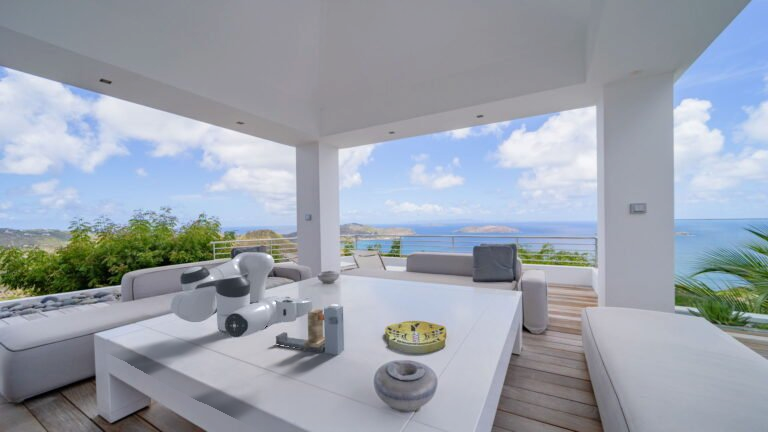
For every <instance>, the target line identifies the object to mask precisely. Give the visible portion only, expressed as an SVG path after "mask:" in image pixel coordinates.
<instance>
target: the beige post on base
mask: <svg viewBox="0 0 768 432" xmlns="http://www.w3.org/2000/svg"><path fill="white" fill-rule="evenodd" d="M319 314H324V309H316V308H312V311H311V312H309V313H307V331H308V332H307V336H308V337H307V339H305V340H306V341H304V346H311V347H320V346H321V345H323V344H324V343H325V336H324V320H319V319H318V315H319Z"/></svg>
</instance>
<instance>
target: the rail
mask: <svg viewBox="0 0 768 432" xmlns="http://www.w3.org/2000/svg"><path fill="white" fill-rule="evenodd" d="M306 340H307V339H302V338H295V337H290V336H289V337H288V332H284V331H283V332H281V333H280V334H278V335H276V336H275V345H276V344H279V345H284V346H289V347H295V348H300V349H299V350H302V349H305V350H304V351H308V350H310V351H309V352H316V353H322V354H323V353H325V343H324V344H323V345H321V346H320V347H311V346H304V341H306ZM289 347H288V348H289ZM295 348H294V349H295Z"/></svg>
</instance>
